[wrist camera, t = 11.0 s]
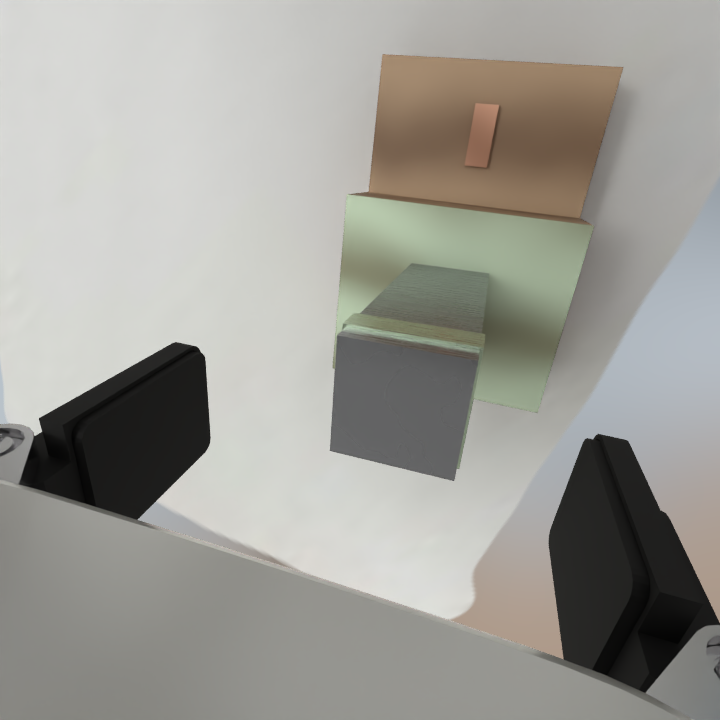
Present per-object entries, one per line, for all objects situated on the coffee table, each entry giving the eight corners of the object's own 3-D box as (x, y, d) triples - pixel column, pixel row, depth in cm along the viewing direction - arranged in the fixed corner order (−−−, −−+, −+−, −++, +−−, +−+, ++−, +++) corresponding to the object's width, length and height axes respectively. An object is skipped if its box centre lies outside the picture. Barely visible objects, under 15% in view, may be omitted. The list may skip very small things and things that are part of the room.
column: (409, 260, 23) (333, 331, 13) (491, 271, 22) (483, 358, 12) (400, 335, 25) (327, 452, 14) (476, 348, 24) (457, 484, 14)
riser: (396, 68, 27) (360, 31, 20) (607, 81, 25) (649, 43, 18) (366, 329, 34) (332, 368, 27) (529, 360, 31) (537, 412, 25)
